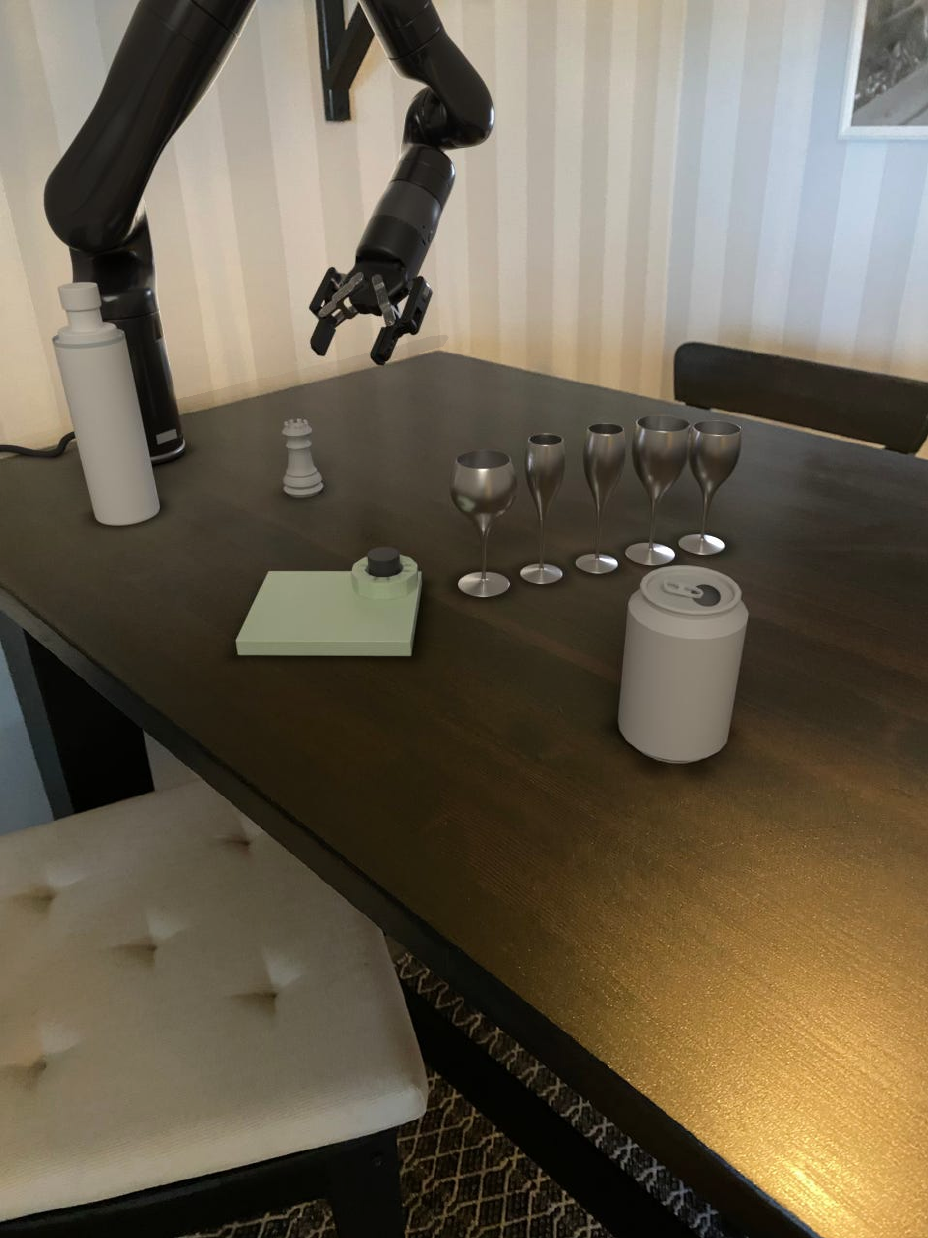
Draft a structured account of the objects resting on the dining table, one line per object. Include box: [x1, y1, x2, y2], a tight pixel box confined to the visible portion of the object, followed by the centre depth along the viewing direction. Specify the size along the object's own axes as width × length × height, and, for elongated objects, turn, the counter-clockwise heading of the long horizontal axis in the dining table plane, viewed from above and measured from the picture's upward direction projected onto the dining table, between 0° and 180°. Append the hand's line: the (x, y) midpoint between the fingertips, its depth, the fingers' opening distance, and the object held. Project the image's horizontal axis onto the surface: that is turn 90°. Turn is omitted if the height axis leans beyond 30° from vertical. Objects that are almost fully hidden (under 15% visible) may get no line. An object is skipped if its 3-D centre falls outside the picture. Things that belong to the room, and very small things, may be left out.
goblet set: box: [449, 414, 742, 598], centre depth 82 cm, size 28×6×13 cm, turn 109°
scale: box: [235, 554, 423, 657], centre depth 77 cm, size 14×12×3 cm
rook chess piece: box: [281, 418, 324, 499], centre depth 100 cm, size 4×4×8 cm
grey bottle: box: [51, 282, 161, 527], centre depth 91 cm, size 7×7×25 cm
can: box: [617, 564, 750, 764], centre depth 60 cm, size 8×8×12 cm
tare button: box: [366, 546, 401, 577], centre depth 78 cm, size 3×3×2 cm
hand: (346, 356), depth 102 cm, fingers open, 8 cm apart
